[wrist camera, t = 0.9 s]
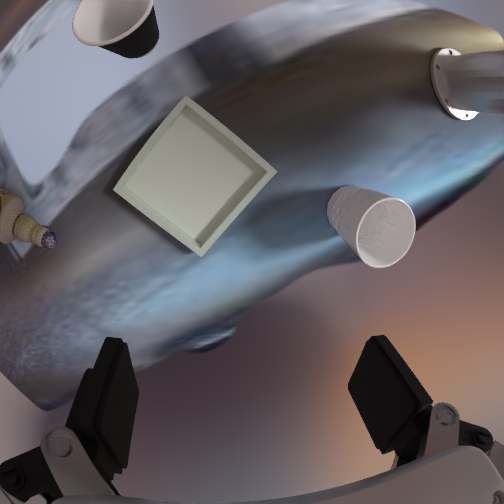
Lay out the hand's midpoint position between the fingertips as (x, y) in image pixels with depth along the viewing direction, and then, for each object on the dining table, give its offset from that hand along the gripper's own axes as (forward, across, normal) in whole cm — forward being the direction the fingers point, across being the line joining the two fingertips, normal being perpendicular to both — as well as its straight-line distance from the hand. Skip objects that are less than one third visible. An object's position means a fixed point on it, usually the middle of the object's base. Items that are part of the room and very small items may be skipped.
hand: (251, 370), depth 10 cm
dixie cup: (+27, +12, -21) cm, 36 cm away
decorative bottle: (+27, +35, +1) cm, 45 cm away
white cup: (+26, -17, -1) cm, 31 cm away
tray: (+26, +4, -3) cm, 27 cm away
